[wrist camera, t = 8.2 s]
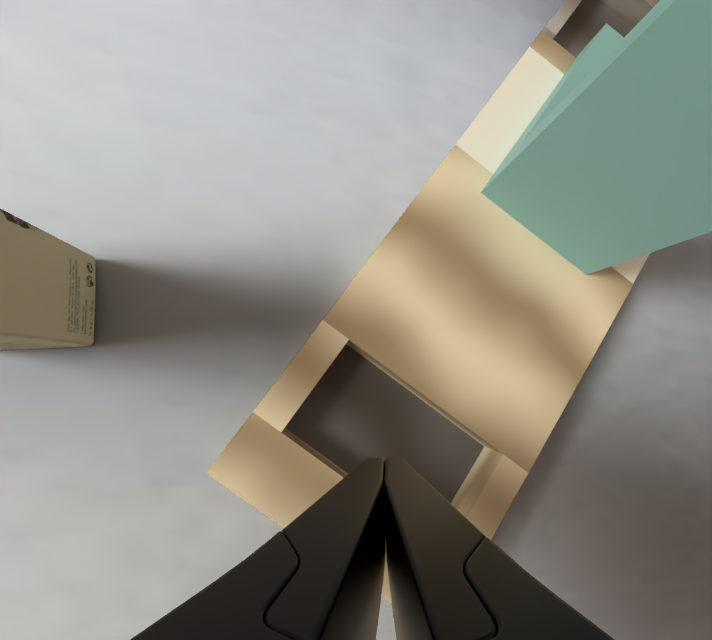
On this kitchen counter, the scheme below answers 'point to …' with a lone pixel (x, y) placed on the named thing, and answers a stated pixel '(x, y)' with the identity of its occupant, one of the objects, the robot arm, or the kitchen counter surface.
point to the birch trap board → (439, 344)
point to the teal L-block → (620, 144)
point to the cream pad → (520, 123)
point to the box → (43, 289)
